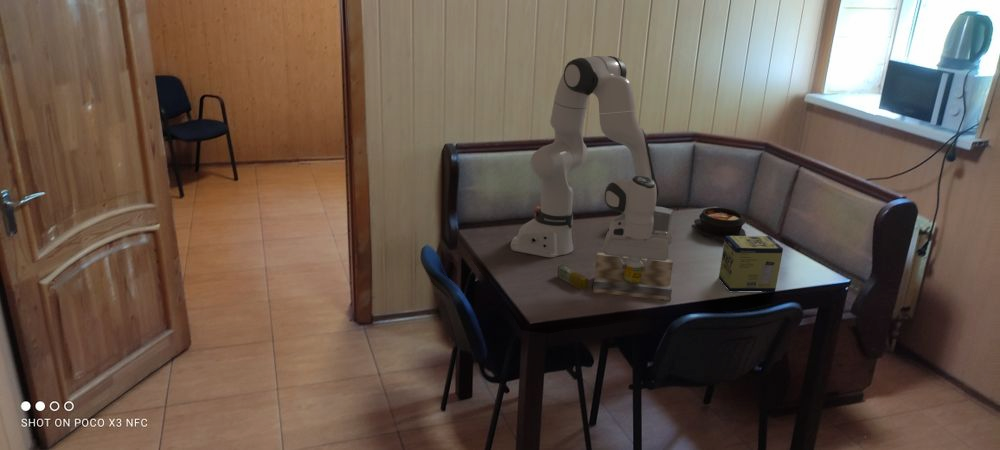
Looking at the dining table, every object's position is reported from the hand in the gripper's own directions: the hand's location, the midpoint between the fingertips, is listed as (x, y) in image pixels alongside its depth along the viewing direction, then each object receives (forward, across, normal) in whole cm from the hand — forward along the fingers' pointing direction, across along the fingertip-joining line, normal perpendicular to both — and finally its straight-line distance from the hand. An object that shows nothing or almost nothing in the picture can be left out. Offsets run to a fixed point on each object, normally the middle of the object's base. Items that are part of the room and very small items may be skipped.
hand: (633, 269), depth 229 cm
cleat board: (+7, 0, 0) cm, 7 cm away
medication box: (+7, +19, 0) cm, 20 cm away
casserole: (+7, -33, -58) cm, 67 cm away
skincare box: (+7, -8, -35) cm, 36 cm away
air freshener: (+7, +2, -52) cm, 52 cm away
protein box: (+7, -37, -12) cm, 40 cm away
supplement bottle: (+5, 0, 0) cm, 5 cm away
